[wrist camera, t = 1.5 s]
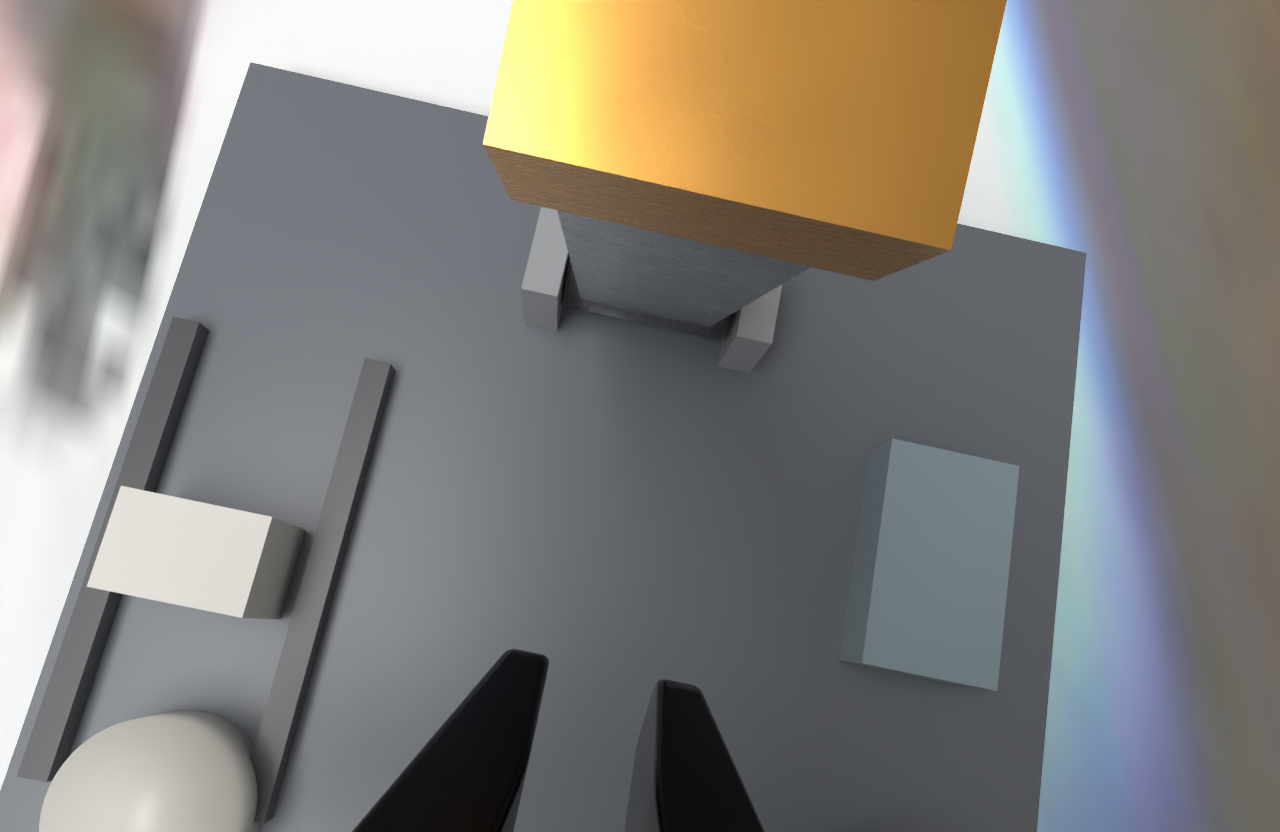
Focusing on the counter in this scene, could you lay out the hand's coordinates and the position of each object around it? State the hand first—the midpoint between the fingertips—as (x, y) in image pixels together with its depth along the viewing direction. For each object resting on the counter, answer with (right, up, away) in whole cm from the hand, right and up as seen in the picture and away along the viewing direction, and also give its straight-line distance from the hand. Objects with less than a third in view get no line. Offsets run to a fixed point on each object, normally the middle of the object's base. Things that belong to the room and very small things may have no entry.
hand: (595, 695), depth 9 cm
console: (-1, -3, +13) cm, 14 cm away
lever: (+1, +6, +13) cm, 14 cm away
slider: (-9, -1, +11) cm, 14 cm away
